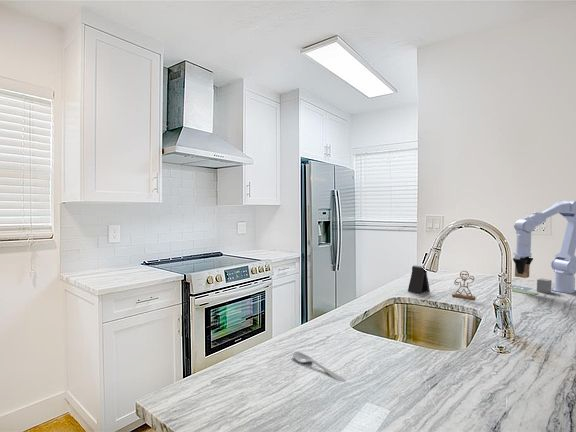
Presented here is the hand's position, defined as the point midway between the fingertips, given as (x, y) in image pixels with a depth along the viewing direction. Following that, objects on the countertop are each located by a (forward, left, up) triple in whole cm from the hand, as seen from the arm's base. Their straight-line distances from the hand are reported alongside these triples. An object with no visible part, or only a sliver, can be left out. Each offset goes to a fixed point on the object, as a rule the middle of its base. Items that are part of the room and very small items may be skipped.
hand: (522, 273), depth 171 cm
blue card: (-8, -4, -9) cm, 13 cm away
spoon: (+132, +4, -10) cm, 133 cm away
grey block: (-10, +6, -9) cm, 15 cm away
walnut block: (0, 0, -2) cm, 2 cm away
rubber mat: (0, 0, -9) cm, 9 cm away
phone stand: (+40, -29, -10) cm, 51 cm away
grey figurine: (+33, -11, -10) cm, 37 cm away
